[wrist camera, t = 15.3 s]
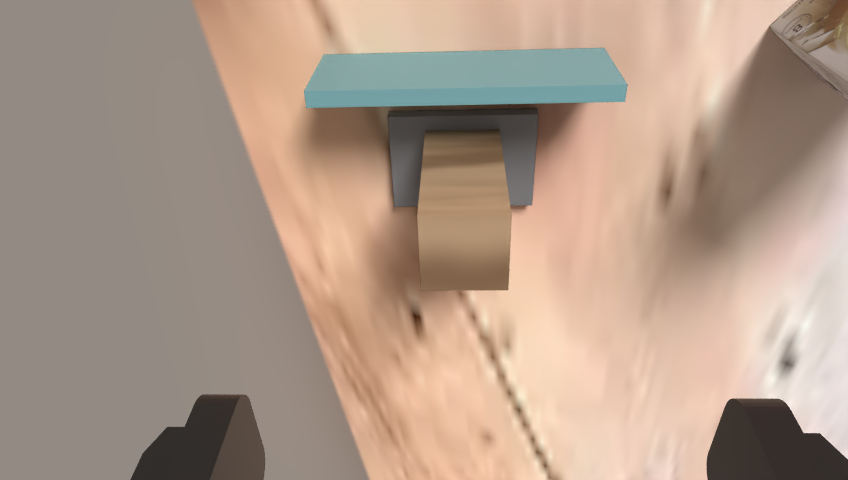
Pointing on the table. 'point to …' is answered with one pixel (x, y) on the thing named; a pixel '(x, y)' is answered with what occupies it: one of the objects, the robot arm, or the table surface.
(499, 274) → the wooden block
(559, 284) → the table surface
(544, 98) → the teal board
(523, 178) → the dark gray upright panel
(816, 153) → the table surface
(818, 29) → the coffee box
